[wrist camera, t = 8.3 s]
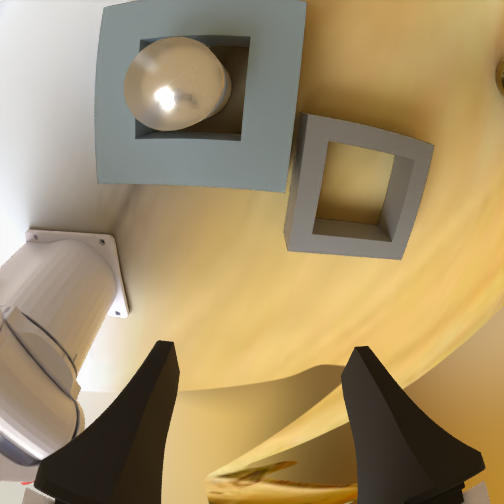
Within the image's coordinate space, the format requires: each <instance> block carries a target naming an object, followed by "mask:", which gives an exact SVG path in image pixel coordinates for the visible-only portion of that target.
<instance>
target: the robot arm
mask: <svg viewBox="0 0 504 504" xmlns="http://www.w3.org/2000/svg"><path fill="white" fill-rule="evenodd" d="M37 236H38V237H37ZM25 238H26V243H25V244H24V245H23V246H22V247H21V248H20V249H19V250H18V251H17V252H16V253H15V254H14V255H13V256H12V257H11V258H10V259H9V260H8V261H7V262H6V263H5V264H4V265H3V266H2V267H1V268H0V481H4V482H32V481H34V487H35V488H36V489H38V490H39V491H41V492H43V493H45V494H47V495H49V496H51V497H53V498H55V500H52V499H50V498H47V497H45V496H43V495H41V494H39V493H37V492H35V491H33V490H31V489H29V488H26V490H25V494H24V498H23V502H22V504H161V488H162V487H161V486H162V471H163V459H164V450H165V444H166V438H167V433H168V430H169V425H170V421H171V417H172V413H173V409H174V405H175V401H176V396H177V390H178V383H179V374H180V371H179V366H178V361H177V356H176V351H175V346H174V342H169V341H161V340H159V341H157V342H156V344H155V345H154V347H153V349H152V350H151V352H150V353H149V355H148V356H147V358H146V359H145V361H144V362H143V364H142V365H141V367H140V368H139V370H138V371H137V372H136V374H135V375H134V376H133V378H132V379H131V380H130V382H129V383H128V384H127V386H126V387H125V388H124V389H123V391H122V392H121V393H120V394H119V396H118V397H117V398H116V399H115V400H114V402H113V403H112V404H111V405H110V406H109V407H108V408H107V409H106V410H105V411H104V412H103V413H102V414H101V415H100V416H99V417H98V418H97V419H96V420H95V421H94V422H93V423H92V424H91V425H90V426H89V427H88V428H86V429H85V418H84V413H83V410H82V408H81V406H80V404H79V403H78V401H77V397H78V395H79V392H80V389H81V387H80V386H79V384H78V383H77V381H76V378H77V375H78V373H79V371H80V368H81V366H82V364H83V362H84V360H85V358H86V355H87V353H88V351H89V349H90V347H91V345H92V343H93V341H94V339H95V337H96V335H97V333H98V331H99V329H100V327H101V325H102V323H103V321H104V319H105V317H106V315H109V316H115V317H121V318H127V317H128V316H129V309H128V305H127V300H126V296H125V291H124V287H123V282H122V277H121V272H120V266H119V261H118V255H117V249H116V243H115V239H114V237H113V236H111V235H109V234H93V233H78V232H62V231H46V230H27V231H26V232H25ZM101 239H102V240H104V242H105V243H103V242H102V241H101ZM341 380H342V389H343V396H344V401H345V405H346V409H347V413H348V417H349V421H350V425H351V429H352V434H353V438H354V443H355V449H356V459H357V471H358V472H357V475H358V501H357V504H490V499H489V496H488V492H487V488H486V484H485V482H484V481H483V482H481V483H479V484H478V485H476V486H474V487H473V488H470V489H469V490H467V491H465V492H463V493H462V490H461V489H463V488H464V487H465V484H464V481H466V480H468V479H469V478H471V477H473V476H475V475H476V474H478V473H480V472H481V471H483V470H484V469H485V464H484V461H483V458H482V455H481V452H479V451H477V450H475V449H473V448H471V447H469V446H467V445H466V444H464V443H462V442H461V441H459V440H458V439H456V438H454V437H453V436H452V435H450V434H449V433H447V432H446V431H445V430H444V429H442V428H441V427H440V426H438V425H437V424H436V423H435V422H434V421H432V420H431V419H430V418H429V417H428V416H427V415H426V414H425V413H424V412H423V411H422V410H420V409H419V407H418V406H417V405H416V404H415V403H414V402H413V401H412V400H411V399H410V398H409V397H408V396H407V394H406V393H405V392H404V391H403V390H402V389H401V387H400V386H399V385H398V384H397V382H396V381H395V380H394V379H393V378H392V376H391V375H390V374H389V372H388V371H387V370H386V369H385V367H384V366H383V365H382V363H381V362H380V361H379V359H378V358H377V357H376V356H375V354H374V353H373V352H372V350H371V349H370V348H369V347H368V346H361V347H355V348H354V350H353V352H352V354H351V356H350V358H349V361H348V363H347V365H346V367H345V369H344V371H343V373H342V375H341ZM84 429H85V430H84Z"/></svg>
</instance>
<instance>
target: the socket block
mask: <svg viewBox="0 0 504 504" xmlns="http://www.w3.org/2000/svg"><path fill="white" fill-rule="evenodd" d="M306 7H307V2H306V1H300V0H138V1H132V2H127V3H122V4H117V5H113V6H109V7H104V10H103V15H102V22H101V28H100V36H99V44H98V54H97V65H96V81H95V150H96V167H97V179H98V184H155V185H183V186H203V187H220V188H234V189H248V190H259V191H271V192H281V193H285V189H286V182H287V175H288V167H289V160H290V152H291V144H292V136H293V128H294V120H295V112H296V104H297V95H298V86H299V77H300V68H301V59H302V49H303V39H304V29H305V18H306ZM169 37H186V38H191V39H194V40H196V41H199V42H200V43H202V44H204V45H205V46H239V47H250V48H249V58H248V68H247V78H246V88H245V99H244V110H243V121H242V132H241V134H230V133H210V132H153V128H150V127H148V126H146V125H144V124H142V123H141V122H140V121H138V120H137V119H136V118H135V117H134V116H133V114H132V113H131V112H130V110H129V108H128V106H127V104H126V101H125V96H124V80H125V76H126V73H127V70H128V68H129V66H130V64H131V63H132V61H133V60H134V58H135V57H136V56H137V55H138V54H139V53H140V52H141V51H142V50H143V49H144V48H146V47H147V46H148V45H150V44H152V43H154V42H156V41H158V40H161V39H164V38H169Z"/></svg>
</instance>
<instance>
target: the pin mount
mask: <svg viewBox="0 0 504 504" xmlns="http://www.w3.org/2000/svg"><path fill="white" fill-rule="evenodd" d="M329 141H331V142H337V143H342V144H347V145H353V146H358V147H362V148H367V149H372V150H376V151H381V152H385V153H389V154H393V155H395V158H394V163H393V168H392V172H391V177H390V181H389V185H388V189H387V193H386V197H385V201H384V205H383V209H382V212H381V216H380V220H379V223H378V225H371V224H363V223H355V222H346V221H337V220H328V219H319V218H315V216H316V211H317V205H318V200H319V195H320V189H321V184H322V178H323V172H324V166H325V160H326V154H327V148H328V142H329ZM433 150H434V145H432V144H430V143H427V142H424V141H422V140H419V139H416V138H413V137H410V136H407V135H403V134H400V133H396V132H393V131H389V130H385V129H381V128H377V127H373V126H369V125H365V124H361V123H356V122H352V121H347V120H342V119H337V118H332V117H327V116H321V115H315V114H309V113H302V112H300V119H299V126H298V134H297V142H296V150H295V157H294V164H293V171H292V179H291V186H290V193H289V199H288V206H287V213H286V219H285V226H284V237H285V241H286V246H287V250H288V251H293V252H306V253H319V254H332V255H345V256H357V257H370V258H382V259H395V260H401V259H402V257H403V254H404V251H405V248H406V246H407V243H408V240H409V237H410V234H411V231H412V228H413V225H414V222H415V219H416V215H417V212H418V209H419V205H420V202H421V198H422V195H423V191H424V188H425V184H426V180H427V176H428V172H429V168H430V163H431V159H432V154H433Z"/></svg>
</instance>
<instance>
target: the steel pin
mask: <svg viewBox="0 0 504 504" xmlns="http://www.w3.org/2000/svg"><path fill="white" fill-rule="evenodd" d="M231 89H232V84H231V79H230V76H229V74H228V72H227V70H226V69H225V67H224V66H223V65H222V64H221V62H220V61H219V60H218V59H217V57H216V56H215V55H214V54H213V53H212V52H211V50H210V49H209V48H208V47H206V46H205V45H204V44H202V43H200V42H199V41H196V40H194V39H191V38H186V37H169V38H164V39H161V40H158V41H156V42H154V43H152V44H150V45H148V46H147V47H146V48H144V49H143V50H142V51H141V52H140V53H139V54H138V55H137V56H136V57H135V58H134V60H133V61H132V63H131V64H130V66H129V68H128V70H127V73H126V76H125V80H124V96H125V101H126V104H127V106H128V108H129V110H130V112H131V113H132V114H133V116H134V117H135V118H136V119H137V120H138V121H140V122H141V123H142V124H144V125H146V126H148V127H150V128H153V129H156V130H161V131H174V130H179V129H183V128H186V127H189V126H191V125H193V124H195V123H198V122H200V121H202V120H204V119H207V118H209V117H211V116H213V115H215V114H217V113H218V112H219V111H220V110H221V109H222V108H223V107H224V106H225V105H226V103H227V102H228V100H229V97H230V94H231Z"/></svg>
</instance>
